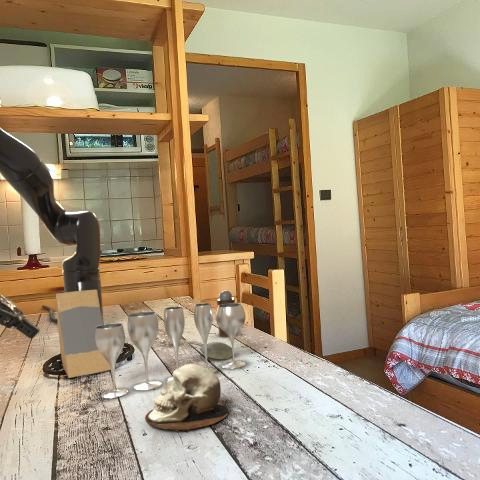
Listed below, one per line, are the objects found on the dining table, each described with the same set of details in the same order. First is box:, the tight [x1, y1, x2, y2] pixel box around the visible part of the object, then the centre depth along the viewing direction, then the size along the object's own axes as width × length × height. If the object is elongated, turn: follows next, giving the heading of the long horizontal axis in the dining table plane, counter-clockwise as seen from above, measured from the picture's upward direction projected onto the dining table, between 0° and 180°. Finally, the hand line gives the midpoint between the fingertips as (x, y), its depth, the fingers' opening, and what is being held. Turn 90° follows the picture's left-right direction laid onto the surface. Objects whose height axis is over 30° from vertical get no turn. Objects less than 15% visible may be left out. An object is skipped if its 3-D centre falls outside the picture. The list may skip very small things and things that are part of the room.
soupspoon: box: [169, 339, 233, 360], centre depth 115 cm, size 22×3×7 cm
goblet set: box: [95, 302, 247, 400], centre depth 96 cm, size 28×6×13 cm, turn 126°
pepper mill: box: [216, 289, 236, 338], centre depth 129 cm, size 4×4×11 cm
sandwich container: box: [55, 290, 111, 379], centre depth 108 cm, size 9×15×15 cm, turn 31°
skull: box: [144, 363, 229, 432], centre depth 77 cm, size 12×10×10 cm
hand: (36, 334), depth 105 cm, fingers closed
